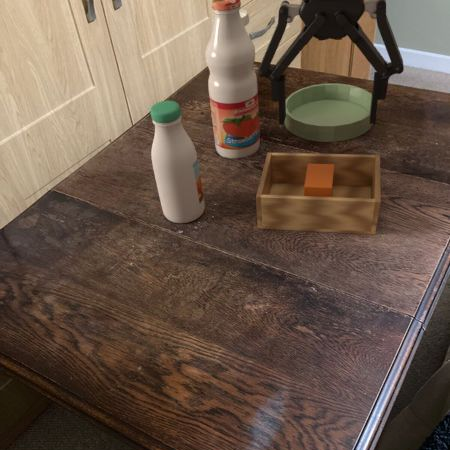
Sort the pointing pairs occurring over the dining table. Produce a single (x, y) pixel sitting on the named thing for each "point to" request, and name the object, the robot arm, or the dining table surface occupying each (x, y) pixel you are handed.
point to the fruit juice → (232, 83)
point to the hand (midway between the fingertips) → (326, 119)
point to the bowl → (328, 112)
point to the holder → (320, 206)
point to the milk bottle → (175, 165)
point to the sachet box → (319, 180)
